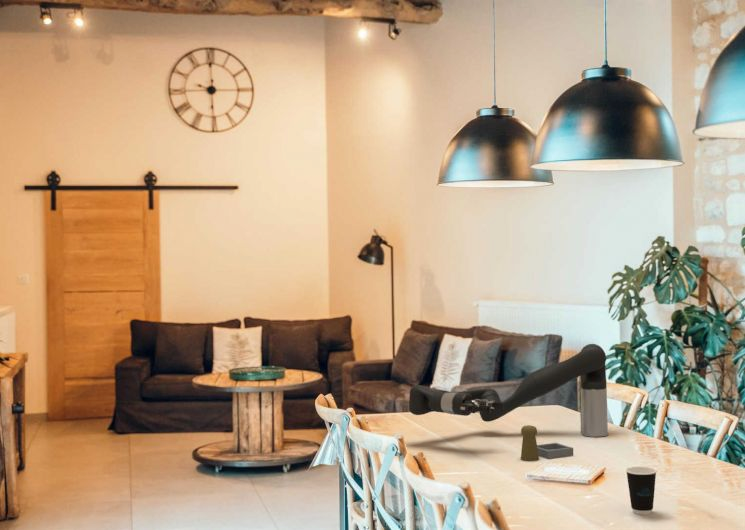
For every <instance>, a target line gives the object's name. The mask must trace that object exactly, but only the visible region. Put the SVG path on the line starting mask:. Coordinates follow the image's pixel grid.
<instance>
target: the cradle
mask: <svg viewBox="0 0 745 530" xmlns="http://www.w3.org/2000/svg"><path fill="white" fill-rule="evenodd" d="M537 448H538V455H539V458H540V457H541V458H544V459H546V460H551V459H559V458H565V457H572V456H574V447H571V446H568V445H565V444H561V443H558V442H550V443H545V444H543V443H542V444H537Z"/></svg>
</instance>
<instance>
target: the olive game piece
mask: <svg viewBox="0 0 745 530" xmlns="http://www.w3.org/2000/svg"><path fill="white" fill-rule="evenodd" d="M520 433H521V435H522V441H521V451H520V452H521V454H520V460H521V461H524V462H536V461H539V460H540V456H539V455H538V448H537V445H538V443H537V437H536V436H537V433H538V429H537V427H536V426H534V425H531V424H530V425H529V424H528V425H524V426H522V427H521V430H520Z"/></svg>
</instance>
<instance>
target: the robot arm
mask: <svg viewBox="0 0 745 530" xmlns="http://www.w3.org/2000/svg"><path fill="white" fill-rule="evenodd" d="M606 363H607V355H606V352H605V350H604V349H603V348H602V347H601V346H600V345H599V344H596V343H589V344H586V345H585V346H583V347H582V348H581V350H580V351H579V352H578V353H576V354H575V355H574V356H571V357H569V358H567V359H566V360H563V361H560V362H556V363H553V364H550V365H547V366H546V365H545V366H544V367H540V368H539V369H536V370H534V371H532V372H530V373H529V374H527V375H526V376H524V378H523V379H522V380H521V382H520V384H519V385H518V387H517V388H516V389H515V390H514V392H513V393H512V394H511V395H510V396H509V397H508V398H506V399H504V400H501V398H500V395H499V393H498V392H497V390H496V389H493V388H481V389H479V388H478V389H473V390H471V389H470V390H465V391H464V390H463V391H440V390H439V391H436V390H434V389H431V388H429V387H427V386H424V385H421V384H415V385H413V386H412V387H411V388H410V390H409V397H408V398H409V399H408V410H409V413H410V414H413V415H414V416H423V415H425V414H428V413H432V412H435V413H444V414H449V415H457V416H465V417H467V416H470V415H471V414H477V413H478V414H479V415H480V418H481V420H482V421H483V422H493V421H496V420H498V419H500V418H502V417H504V416H505V415H507V414H509V413H511V412H513V411H514V410H516V409H517V408H520V407H521V406H523V405H525V404H527V403H529V402H531V401H534V400H535V399H537V398H540V397H543V396H544V395H547V394H549V393H551V392H552V391H555V390H557V389H559V388H561V387H562V386H564V385H565V384H567V383H569V382H570V381H573V380H574V379H576V378H579V379H580V395H581V396H580V404H581V407H580V409H579V411H580V416H579V417H580V434H581V435H582V436H583V437H593V438H600V437H607V436H608V435H609V431H608V429H609V428H608V395H607V394H608V390H607V389H608V388H607V387H608V385H607V370H606V367H607V365H606Z"/></svg>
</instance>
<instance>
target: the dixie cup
mask: <svg viewBox="0 0 745 530" xmlns="http://www.w3.org/2000/svg"><path fill="white" fill-rule="evenodd" d="M625 472H626V476H627V485H628V491H629V498H630V507H631V509H632V512H633V514H637V515H650V514H652V513H653V509H654V501H655V491H656V490H655V488H656V477H657V472H658V470H657V469H656V468H654V467H649V466H631V467H627V468H625Z"/></svg>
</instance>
